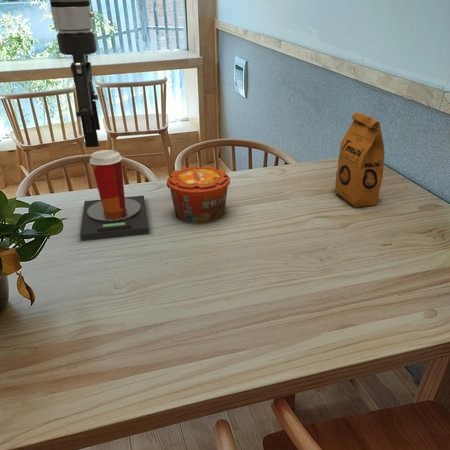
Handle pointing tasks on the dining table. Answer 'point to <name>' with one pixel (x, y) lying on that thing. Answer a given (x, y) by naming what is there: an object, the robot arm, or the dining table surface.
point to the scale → (114, 220)
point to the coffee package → (361, 162)
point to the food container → (199, 193)
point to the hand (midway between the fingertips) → (93, 137)
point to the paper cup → (109, 179)
